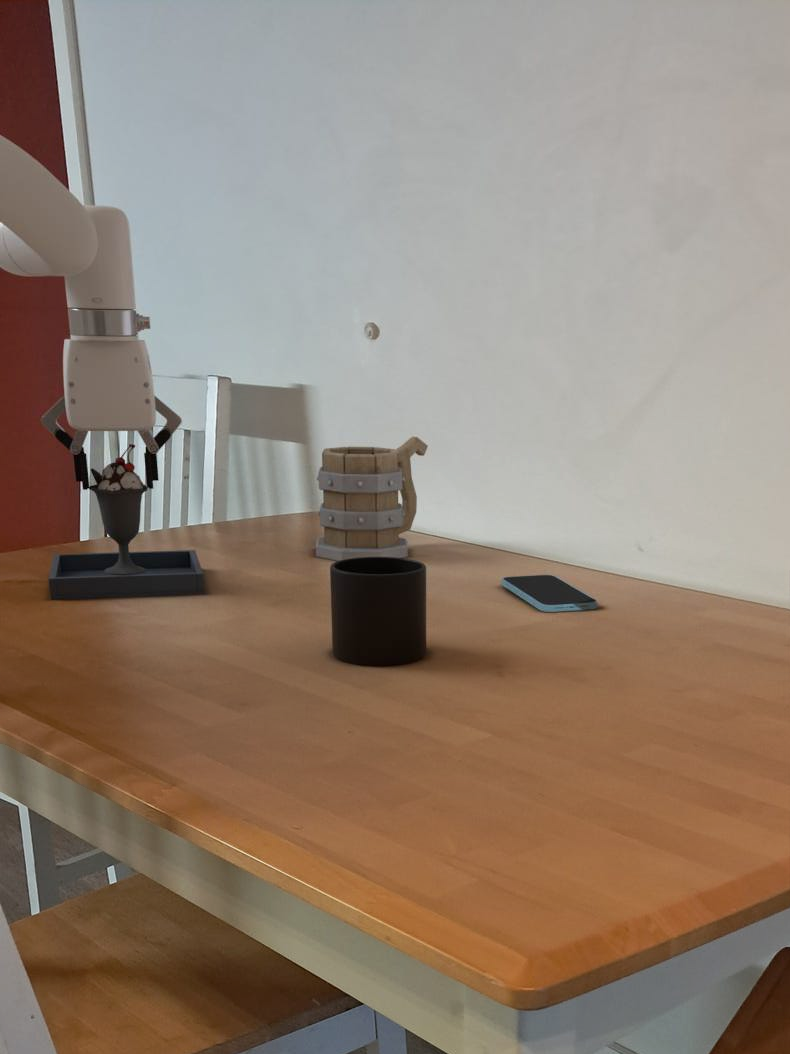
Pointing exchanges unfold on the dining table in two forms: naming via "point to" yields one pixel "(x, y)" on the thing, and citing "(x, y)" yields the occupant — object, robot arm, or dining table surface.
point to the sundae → (120, 508)
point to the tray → (90, 580)
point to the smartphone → (549, 593)
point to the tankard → (367, 500)
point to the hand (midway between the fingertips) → (118, 486)
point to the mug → (378, 610)
